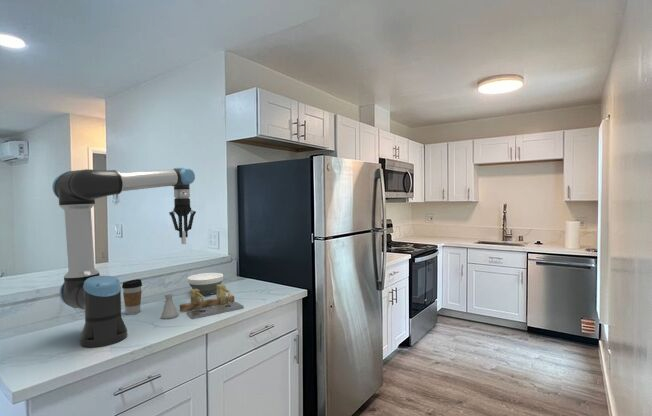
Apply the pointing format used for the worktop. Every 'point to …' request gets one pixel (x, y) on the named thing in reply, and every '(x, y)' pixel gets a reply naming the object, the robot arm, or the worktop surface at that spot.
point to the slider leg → (222, 293)
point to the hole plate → (214, 310)
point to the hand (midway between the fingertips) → (183, 243)
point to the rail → (202, 301)
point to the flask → (169, 308)
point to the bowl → (205, 282)
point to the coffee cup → (132, 296)
